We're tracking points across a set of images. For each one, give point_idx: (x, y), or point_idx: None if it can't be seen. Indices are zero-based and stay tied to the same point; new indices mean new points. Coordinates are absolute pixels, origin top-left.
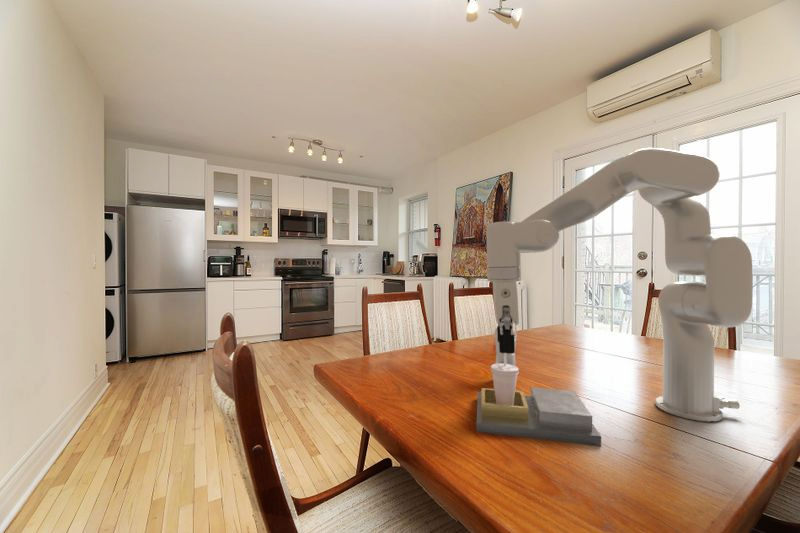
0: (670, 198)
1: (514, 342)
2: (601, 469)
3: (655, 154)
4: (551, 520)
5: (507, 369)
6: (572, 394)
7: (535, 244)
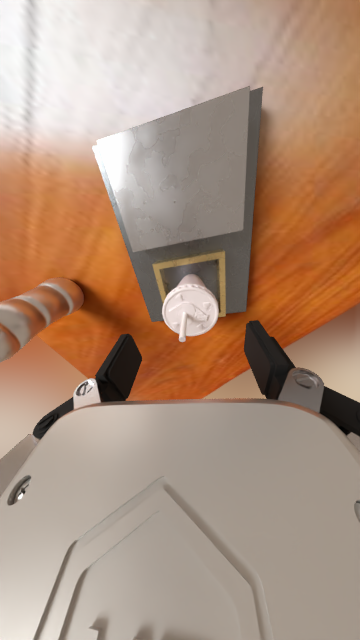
0: None
1: (272, 341)
2: (336, 113)
3: None
4: None
5: (202, 308)
6: (125, 147)
7: None
